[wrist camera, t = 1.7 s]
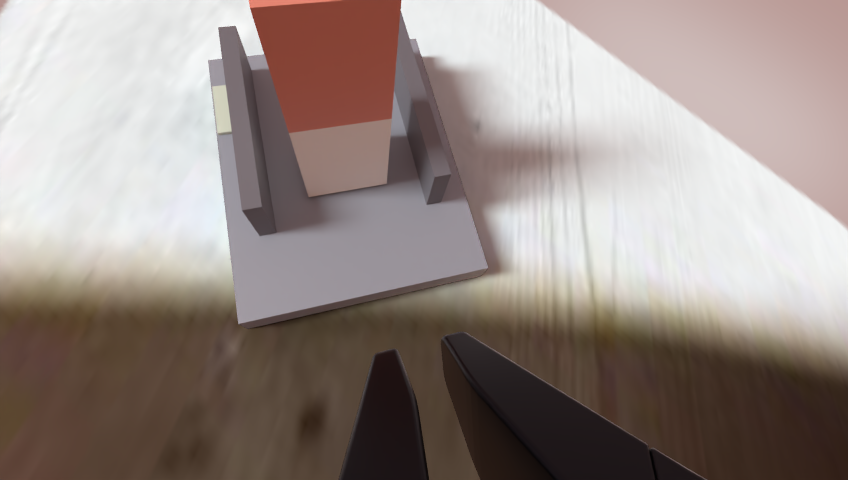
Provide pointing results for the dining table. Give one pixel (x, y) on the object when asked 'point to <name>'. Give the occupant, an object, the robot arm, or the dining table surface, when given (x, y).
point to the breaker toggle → (333, 85)
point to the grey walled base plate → (335, 200)
